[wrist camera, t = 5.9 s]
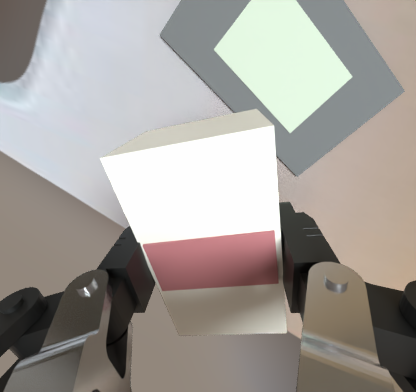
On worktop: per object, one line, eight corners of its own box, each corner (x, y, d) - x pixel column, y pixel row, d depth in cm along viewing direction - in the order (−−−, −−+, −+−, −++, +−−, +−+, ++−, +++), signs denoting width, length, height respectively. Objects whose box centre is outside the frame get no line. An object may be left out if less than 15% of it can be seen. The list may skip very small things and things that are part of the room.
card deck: (256, 108, 9) (274, 125, 5) (271, 265, 13) (287, 335, 9) (146, 131, 10) (97, 159, 6) (192, 271, 14) (178, 338, 10)
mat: (401, 91, 20) (405, 91, 20) (296, 175, 25) (297, 177, 25) (258, -120, 15) (259, -126, 15) (160, 35, 20) (159, 34, 20)
